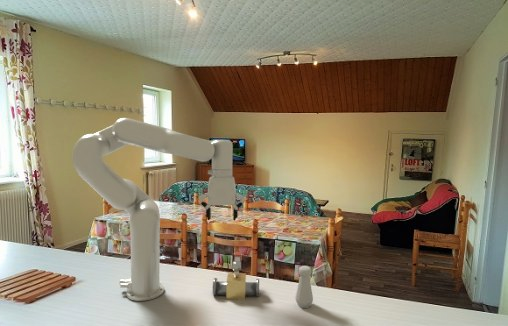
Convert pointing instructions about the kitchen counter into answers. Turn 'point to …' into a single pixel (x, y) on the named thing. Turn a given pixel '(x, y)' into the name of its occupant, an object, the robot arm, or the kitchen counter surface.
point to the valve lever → (237, 261)
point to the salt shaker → (304, 288)
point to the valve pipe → (236, 286)
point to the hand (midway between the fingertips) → (221, 219)
